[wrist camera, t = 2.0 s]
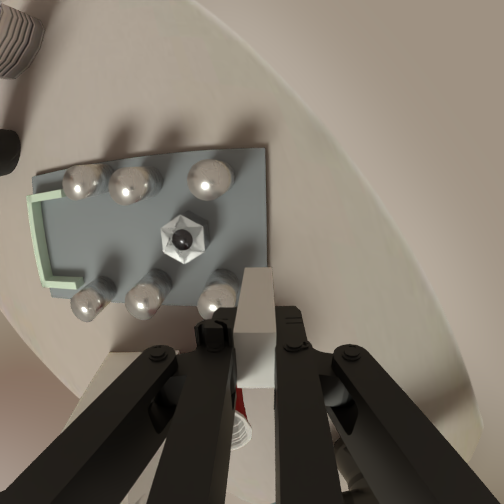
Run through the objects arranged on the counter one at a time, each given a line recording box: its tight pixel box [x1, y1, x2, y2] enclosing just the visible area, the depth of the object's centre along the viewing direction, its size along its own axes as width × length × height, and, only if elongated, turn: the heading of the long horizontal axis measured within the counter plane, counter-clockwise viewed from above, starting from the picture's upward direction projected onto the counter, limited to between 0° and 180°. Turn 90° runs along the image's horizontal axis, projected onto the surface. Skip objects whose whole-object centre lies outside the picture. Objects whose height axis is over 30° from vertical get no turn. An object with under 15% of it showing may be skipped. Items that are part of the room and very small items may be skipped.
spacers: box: [62, 159, 239, 322], centre depth 29 cm, size 18×20×6 cm
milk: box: [61, 350, 180, 504], centre depth 27 cm, size 12×12×26 cm
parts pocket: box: [26, 189, 84, 290], centre depth 32 cm, size 13×7×2 cm, turn 1°
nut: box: [161, 210, 210, 264], centre depth 30 cm, size 5×4×3 cm
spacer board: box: [32, 148, 267, 307], centre depth 33 cm, size 18×32×1 cm, turn 91°
